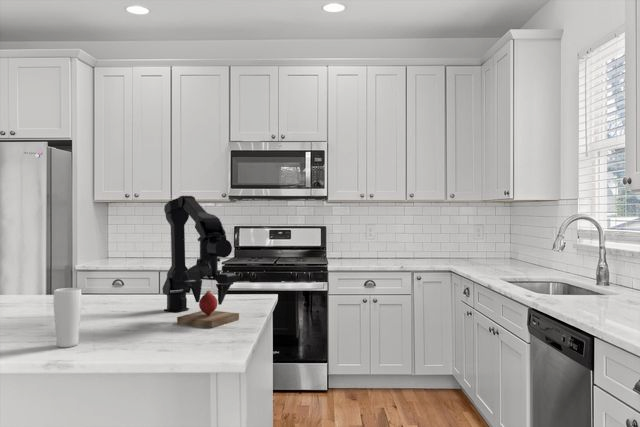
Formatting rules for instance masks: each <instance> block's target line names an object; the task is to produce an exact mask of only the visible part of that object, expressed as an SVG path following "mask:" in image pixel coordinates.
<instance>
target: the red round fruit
mask: <svg viewBox="0 0 640 427" xmlns="http://www.w3.org/2000/svg"><path fill="white" fill-rule="evenodd" d="M198 303H199V304H198V306H199V309H200V311H202V312H204V313H205V314H207V315H210V314H211V313H212V312H213V311H216V309H217V308H218V298H217V297H216V296H215V295H214V294H212V293H211V290H207V291H206V292H205V293H204V294H203V295H202V296H201V297H200V300H199V302H198Z"/></svg>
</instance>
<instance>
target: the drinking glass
mask: <svg viewBox="0 0 640 427" xmlns="http://www.w3.org/2000/svg"><path fill="white" fill-rule="evenodd" d="M82 296H83V295H82V288H80V287H65V288H64V287H63V288H57V289H54V290H53V300H52V302H53V315H54V324H55V336H56V337H55V338H56V341H55V342H56V346H57V347H58V348H61V349H62V348H72V347H75V346H77V345H78V344H79V342H80V327H81V315H82V314H81V313H82V305H83V304H82V302H83V300H82V298H83V297H82Z"/></svg>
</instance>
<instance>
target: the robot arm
mask: <svg viewBox="0 0 640 427" xmlns="http://www.w3.org/2000/svg"><path fill="white" fill-rule="evenodd" d="M163 210H164V213H165V219H166V221H167V222H168V224H169V225H170V251H171V252H170V254H171V258H170V259H171V260H170V261H171V265H170V268H169V269H168V272H167V273H166V280H165V282H164V284H163V285H162V294H163V295H166V308H164V309H163V312H172V313H179V312H184V311H188V310H190V308H189V307H187V306H188V304H187V302H188V299H187V298H188V297H187V294H191V292H192V295H193V297H194V301H195V303H199V302H200V299H201V294H202V293H201V292H202V286H203V280H207V281H208V280H209V281H216V282H217V283H216V284H215V286H216V288H217V305H218V306H219V305H220V306H221V305H222V304H223V301H224V299H225V297H226V294H227V293H228V291H229V289H230V288H231V286H232V285H234V283H237V282H238V277H237V274H236V273H233V272H224V273H221V270H219V269H218V266H219V264H218V262H221V258H224V259H225V258H227V257H229V256H230V255H231V253H232V251H233V245H232V243H231V242H230V241H229V240H228V239H227V234H226V230H225V228H224V226H223V224H222V222H221V220H220V218H219V217H218V216H216V215H214V214H211V213H208V212H207V211H206V210H205V208H203V207H202V206H201V205H200V204H199V202H197V200H196V197H195V196H193V195H181V196H179V197H177V198H174V199H171V200H169V201H167V203H166V204H165V205H164V209H163ZM189 218H191V219H192V220H193V221H194V223H195V224H194V228H195V231H196V232H197V233H198V235H199V237H198V238H197V241H198V242H199V258H197V259H196V264H195V265H192V266H191V267H190V268H188V267H187V266H186V241H185V240H186V239H185V238H186V236H185V235H186V234H185V230H186V229H185V225H186V223H187V222H188V220H189Z"/></svg>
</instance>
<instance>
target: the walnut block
mask: <svg viewBox="0 0 640 427" xmlns="http://www.w3.org/2000/svg"><path fill="white" fill-rule="evenodd" d="M239 320H240V313H238V312H228V311H219V310H214V311H213V312H212V313H211V314H210V315H207V314H205V313H204V312H202V311H201V310H199V311H195V312H192V313H189V314H184V315H180V316H179V315H178V316H177V317H176V324H177V325H182V326H183V325H184V326H191V327H197V328H199V327H200V328H207V329H215V328H218V327H220V326H224V324H225V325H228V324H230V323H234V322H236V321H239Z"/></svg>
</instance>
